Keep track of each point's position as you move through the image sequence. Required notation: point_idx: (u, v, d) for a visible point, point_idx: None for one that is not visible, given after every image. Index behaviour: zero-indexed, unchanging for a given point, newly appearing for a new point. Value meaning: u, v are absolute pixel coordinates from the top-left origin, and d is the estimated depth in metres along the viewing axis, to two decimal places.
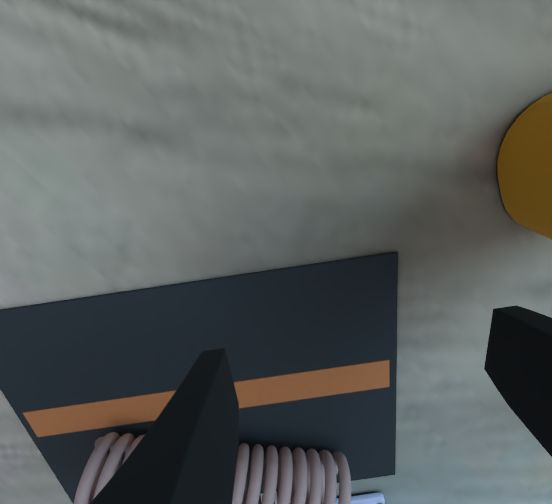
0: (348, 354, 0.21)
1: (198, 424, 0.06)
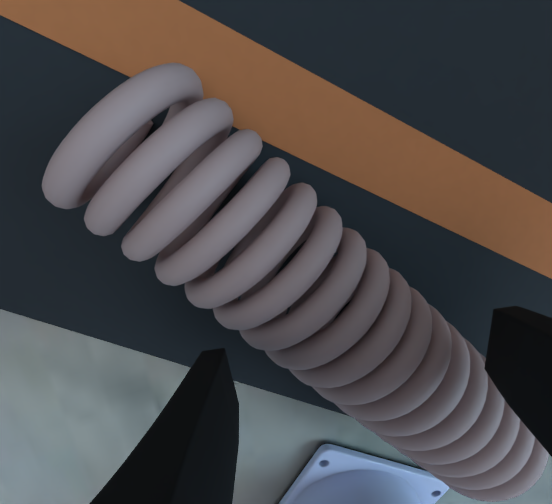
0: None
1: (198, 424, 0.06)
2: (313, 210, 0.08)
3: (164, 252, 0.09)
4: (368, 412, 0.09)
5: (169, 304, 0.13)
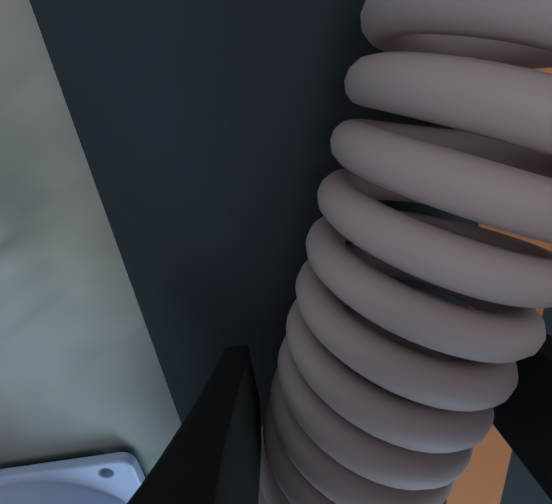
0: (522, 490, 0.14)
1: (231, 419, 0.06)
2: None
3: None
4: None
5: (202, 168, 0.08)
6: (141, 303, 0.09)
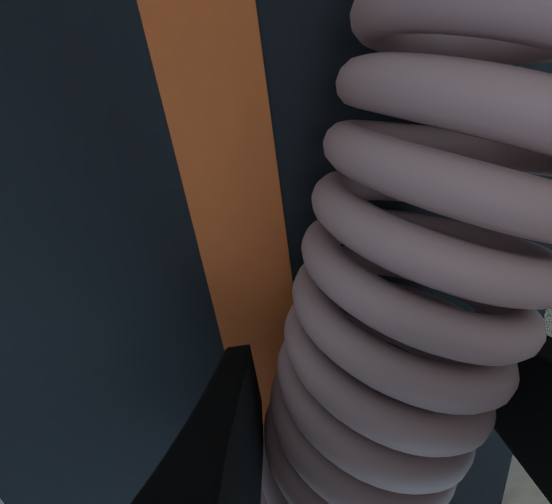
0: None
1: (234, 419, 0.06)
2: None
3: None
4: None
5: None
6: None
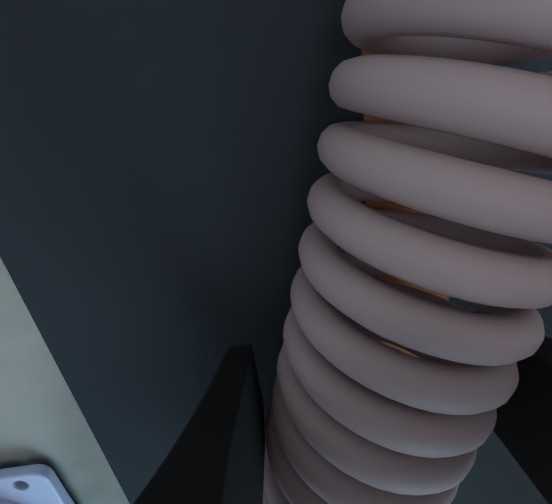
0: None
1: (236, 419, 0.06)
2: None
3: None
4: None
5: (77, 185, 0.08)
6: (35, 318, 0.09)
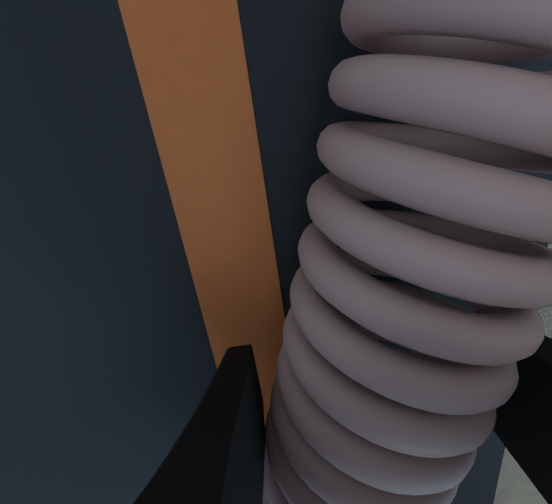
0: None
1: (236, 418, 0.06)
2: None
3: (360, 132, 0.05)
4: None
5: None
6: None
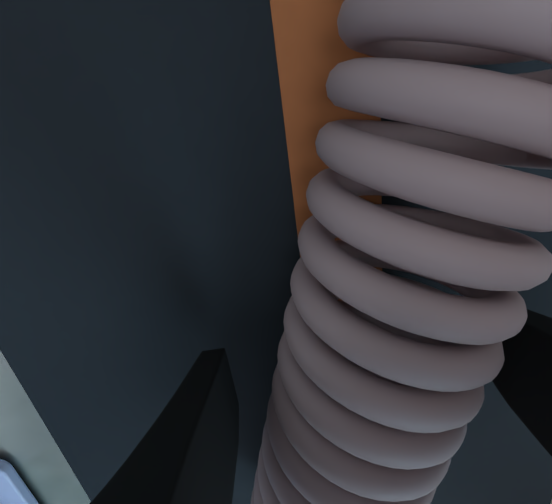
0: None
1: (198, 424, 0.06)
2: None
3: None
4: (328, 497, 0.07)
5: (16, 192, 0.08)
6: None
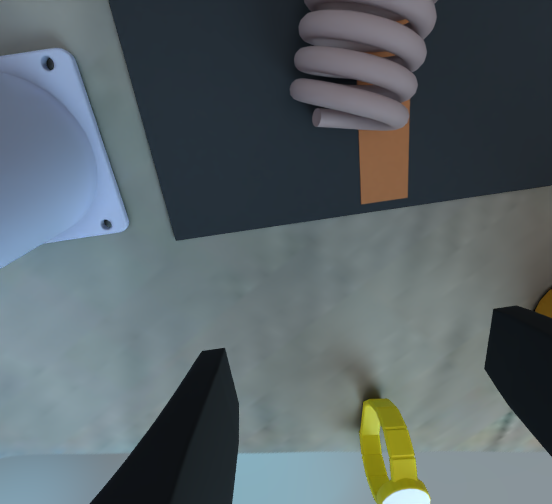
0: (427, 139, 0.15)
1: (198, 424, 0.06)
2: None
3: None
4: None
5: None
6: None
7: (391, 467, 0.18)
